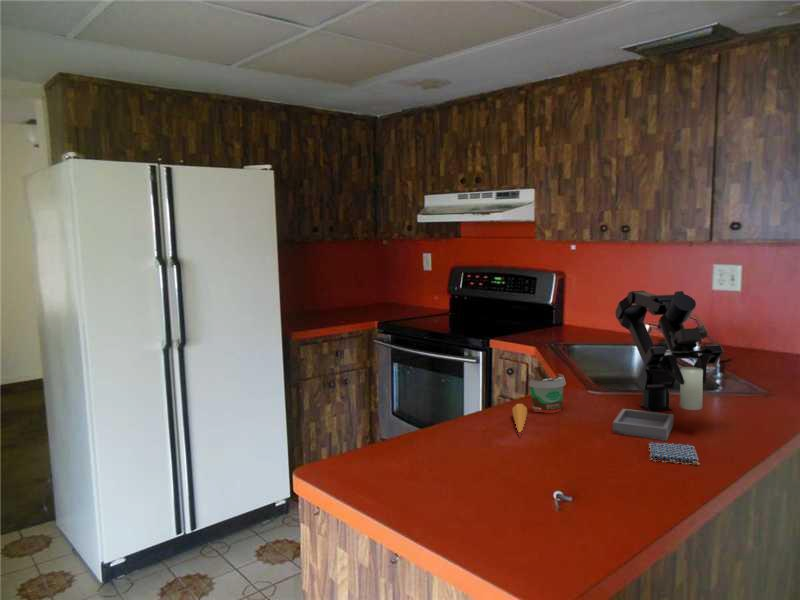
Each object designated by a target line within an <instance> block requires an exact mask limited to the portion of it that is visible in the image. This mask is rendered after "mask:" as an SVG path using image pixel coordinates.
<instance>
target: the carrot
mask: <svg viewBox="0 0 800 600" xmlns="http://www.w3.org/2000/svg"><path fill="white" fill-rule="evenodd" d="M512 417H513V421H515V422H514V425H515V424H516V426H515V429H516V428H517V430H518V432H521V431H522V430H523V431H524V429H523V427H524V428H525V425H526V422H525V421H527V418H526V417H528V407H526V406H525V405H524V404H523V403H516V404H515V405H514V406H513V407H512ZM524 424H525V425H524ZM517 430H516V431H517Z"/></svg>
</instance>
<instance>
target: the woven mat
mask: <svg viewBox="0 0 800 600" xmlns="http://www.w3.org/2000/svg"><path fill="white" fill-rule="evenodd" d="M678 443H679V442H678ZM678 443H674V442H672V443H670V442H669V443H667V441H666V442H661V443H660V441H657V442H656V441H655V442H653V441H652V440H651V441H650V442H649V443H648V446H649V447H647V448H648V452H649V451H650V454H649V460H650V461H651V460H653V461H652V462H656V461H657V463H659V462H658V461H661V462H660V463H666V462H670V463H671V464H678V463H682V464H681V465H689V464H693V465H692V466H699V465H700V464H701V463H700V462H699V456H698V452H697V450H696V449H695V446H693V445H692V444H690V445H689V443H686V444H684V443H683V444H681V443H679V444H678ZM649 448H650V450H649ZM652 457H653V458H652ZM655 457H656V458H655ZM658 457H659V458H658ZM650 458H651V459H650ZM656 459H657V460H656ZM658 459H660V460H658ZM663 459H664V460H663ZM667 460H668V461H667ZM677 461H679V462H677ZM690 462H691V463H690ZM670 463H669V464H670Z"/></svg>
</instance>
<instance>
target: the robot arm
mask: <svg viewBox="0 0 800 600" xmlns="http://www.w3.org/2000/svg"><path fill="white" fill-rule="evenodd" d="M626 295H627V296H626V297H624V298H623V299H621V300H620V301H619V303H618V305H617V307H616V308H615V319H616V320H618V323H619V324H620V326H621V327H623V328H625V329H627V330H628V331H629V333H630V335H631V337H632V340H633V342H634V345H635V347H636V349H637V351H638V353H639V355H640V356H639V357H641V360H642V363H643V365H642V369H641V373H640V374H639V376H638V377H637V385H638V387H639V388H641V389H642V403H639V406H640V407H642V408H643V409H645V410H648V412H659V411H671V410H672V407H670V403H671V402H670V397H671V396H670V395H671V394H670V392H669V389H670V390H673V389H674V387H675V382H676V381H677V382H678V383H679V385H680V384H681V385H683V384H684V380H683V376H682V374H681V371H680V366H679V364H678V361H677V360H683V359H686V360H687V359H694V361H695V363H694V364H693V367H697V368H701V369H703V385H704V384H706V382H707V368H708V367H707V365H714V364H716V363H717V362H718V361H719V360H720V358H721V357H722V355H723V354H724V352H725V351H724V349H723V347H722V346H721V345H720V344H717V343H716V344H705V345H704V346H703V347H702V349H700V350H699V349H698V350H695V348H696V347H697V346H698V344H697V343H698V342H701V341H702V340H704V339H706V338H707V337H708V331H707V330H706V328H705V325H698V326H695V327H694V328H693V327H692V328H686V327H685V325H684V323H686V322H687V321H688V319H689V318H690V316H691V315H692V313H693V312H694V310H695V308H696V305H697V303H696V300H695V299H693V297H692V296H690V295H688V294H685V293H684V291H683V290H681V291H680V290H677V291H675V292H674V294H654V293H650V292H647V291H645V290H632V291H628V293H627V294H626ZM647 313H650V314H651V315H652V316H660V317H659V320H658V323H657V329H658V330H660V329H661V333H662V335H663V338H664V341H663V345H664V346H655V344H654V341H653V340H652V337H651V334H650V333H649V331H648V329H647V327H646V325H645V322H644V321H645V318H646V315H647ZM665 346H666V347H667V348H666V347H665Z"/></svg>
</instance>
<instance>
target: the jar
mask: <svg viewBox="0 0 800 600" xmlns="http://www.w3.org/2000/svg"><path fill="white" fill-rule="evenodd" d="M679 369H680V371H681V374H682V376H683V380H684V384H683V385H681V384H680V383H679V407H680V408H681V409H684V410H689V411H698V410H702V409H703V389H704V388H703V387H704V386H703V385H704V384H703V369H701V368H697V367H694V366H683V367H679Z"/></svg>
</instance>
